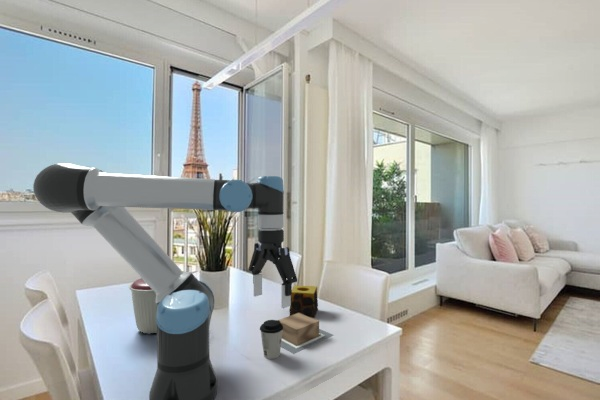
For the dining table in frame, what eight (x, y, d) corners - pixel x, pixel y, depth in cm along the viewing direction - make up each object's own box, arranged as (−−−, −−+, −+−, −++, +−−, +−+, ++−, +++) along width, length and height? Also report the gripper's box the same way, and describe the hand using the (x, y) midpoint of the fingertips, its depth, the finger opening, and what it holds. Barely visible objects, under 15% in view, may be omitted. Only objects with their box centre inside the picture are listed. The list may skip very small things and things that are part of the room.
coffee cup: (261, 364, 87) (261, 329, 86) (258, 352, 93) (258, 319, 93) (286, 361, 88) (285, 326, 88) (280, 349, 95) (280, 317, 95)
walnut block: (296, 345, 96) (296, 329, 96) (277, 335, 104) (276, 320, 104) (319, 335, 103) (319, 320, 103) (299, 326, 110) (298, 312, 110)
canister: (194, 321, 118) (194, 265, 117) (161, 342, 100) (160, 278, 100) (155, 316, 122) (154, 263, 122) (116, 336, 105) (116, 274, 105)
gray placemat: (293, 355, 91) (293, 353, 91) (262, 337, 103) (262, 335, 103) (333, 336, 103) (333, 334, 103) (301, 322, 115) (301, 320, 115)
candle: (314, 319, 118) (314, 293, 118) (289, 317, 120) (288, 292, 120) (318, 309, 128) (318, 286, 128) (294, 308, 130) (294, 284, 130)
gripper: (309, 231, 84) (310, 308, 84) (257, 225, 102) (257, 288, 103) (288, 233, 79) (289, 316, 79) (237, 226, 97) (237, 293, 97)
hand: (271, 300), depth 91 cm, fingers open, 13 cm apart
